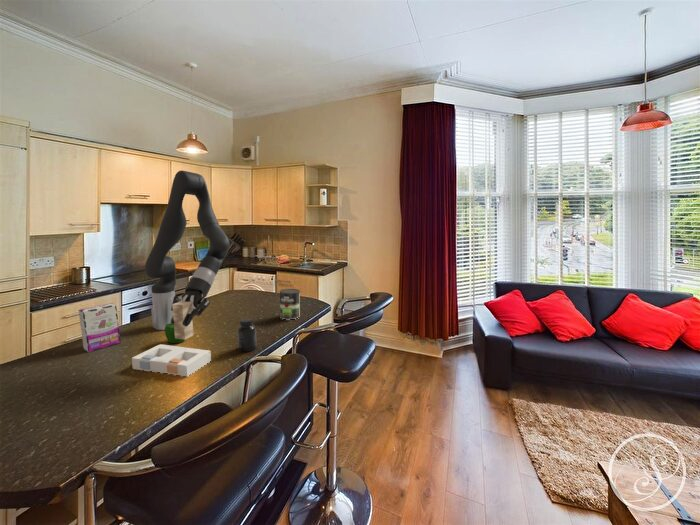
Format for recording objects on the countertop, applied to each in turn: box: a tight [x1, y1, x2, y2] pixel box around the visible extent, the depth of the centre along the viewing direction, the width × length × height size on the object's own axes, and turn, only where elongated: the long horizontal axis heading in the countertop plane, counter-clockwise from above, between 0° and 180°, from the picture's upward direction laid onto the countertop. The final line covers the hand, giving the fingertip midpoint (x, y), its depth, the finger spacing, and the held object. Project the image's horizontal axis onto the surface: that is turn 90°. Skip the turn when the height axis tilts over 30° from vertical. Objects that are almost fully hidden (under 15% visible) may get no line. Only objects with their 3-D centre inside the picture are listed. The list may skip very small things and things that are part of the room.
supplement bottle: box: [237, 317, 258, 353], centre depth 127 cm, size 7×7×12 cm
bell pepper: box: [164, 323, 186, 344], centre depth 133 cm, size 8×8×10 cm
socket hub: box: [131, 344, 212, 378], centre depth 113 cm, size 22×12×4 cm, turn 77°
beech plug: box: [172, 301, 194, 340], centre depth 110 cm, size 4×4×12 cm
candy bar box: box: [78, 302, 121, 353], centre depth 127 cm, size 11×5×16 cm, turn 148°
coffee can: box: [279, 288, 301, 321], centre depth 166 cm, size 10×10×14 cm
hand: (179, 324), depth 108 cm, fingers closed on beech plug, 4 cm apart
